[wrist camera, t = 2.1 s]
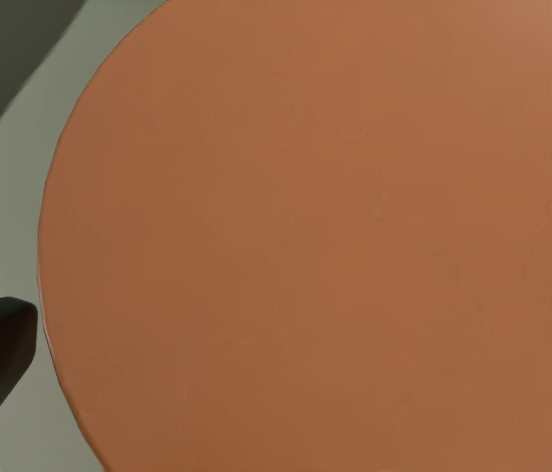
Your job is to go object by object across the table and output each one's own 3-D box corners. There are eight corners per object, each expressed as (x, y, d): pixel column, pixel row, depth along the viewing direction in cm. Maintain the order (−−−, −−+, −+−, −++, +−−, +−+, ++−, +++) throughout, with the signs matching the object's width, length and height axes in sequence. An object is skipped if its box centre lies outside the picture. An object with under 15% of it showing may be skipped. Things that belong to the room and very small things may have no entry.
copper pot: (387, 538, 15) (897, 855, 3) (169, 463, 16) (-141, 478, 4) (445, 240, 19) (779, -158, 7) (267, 189, 19) (276, -260, 7)
